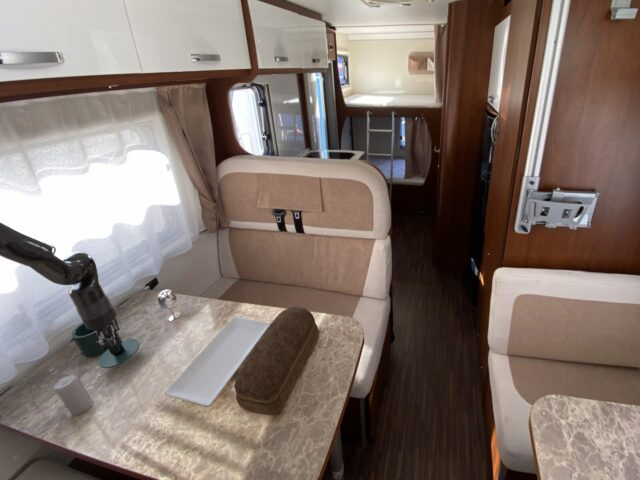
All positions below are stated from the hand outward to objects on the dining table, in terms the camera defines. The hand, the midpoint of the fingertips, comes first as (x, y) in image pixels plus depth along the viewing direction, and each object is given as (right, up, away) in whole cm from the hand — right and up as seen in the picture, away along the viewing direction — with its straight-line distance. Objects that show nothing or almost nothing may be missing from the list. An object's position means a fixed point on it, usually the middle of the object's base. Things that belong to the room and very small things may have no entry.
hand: (117, 348), depth 103 cm
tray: (+37, -5, +1) cm, 37 cm away
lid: (0, -2, +1) cm, 2 cm away
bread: (+58, -5, -2) cm, 58 cm away
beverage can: (0, -12, -12) cm, 17 cm away
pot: (-15, -4, +10) cm, 18 cm away
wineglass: (+4, +2, +22) cm, 22 cm away
